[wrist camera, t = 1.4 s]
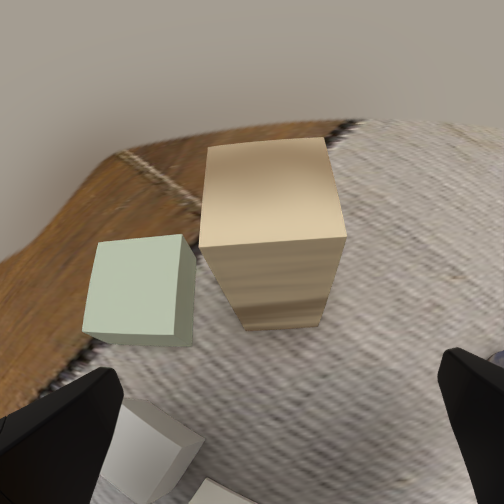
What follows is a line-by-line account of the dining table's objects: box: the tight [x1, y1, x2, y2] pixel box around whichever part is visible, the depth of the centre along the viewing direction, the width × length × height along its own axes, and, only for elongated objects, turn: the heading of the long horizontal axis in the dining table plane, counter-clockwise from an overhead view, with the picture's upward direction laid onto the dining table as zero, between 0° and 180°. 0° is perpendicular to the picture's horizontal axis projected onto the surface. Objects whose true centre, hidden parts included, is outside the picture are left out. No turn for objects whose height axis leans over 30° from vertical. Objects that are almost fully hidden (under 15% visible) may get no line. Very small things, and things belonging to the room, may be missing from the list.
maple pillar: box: [199, 137, 347, 331], centre depth 17 cm, size 5×5×12 cm
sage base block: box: [82, 234, 196, 347], centre depth 21 cm, size 7×7×4 cm
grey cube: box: [100, 398, 205, 504], centre depth 15 cm, size 5×5×5 cm
